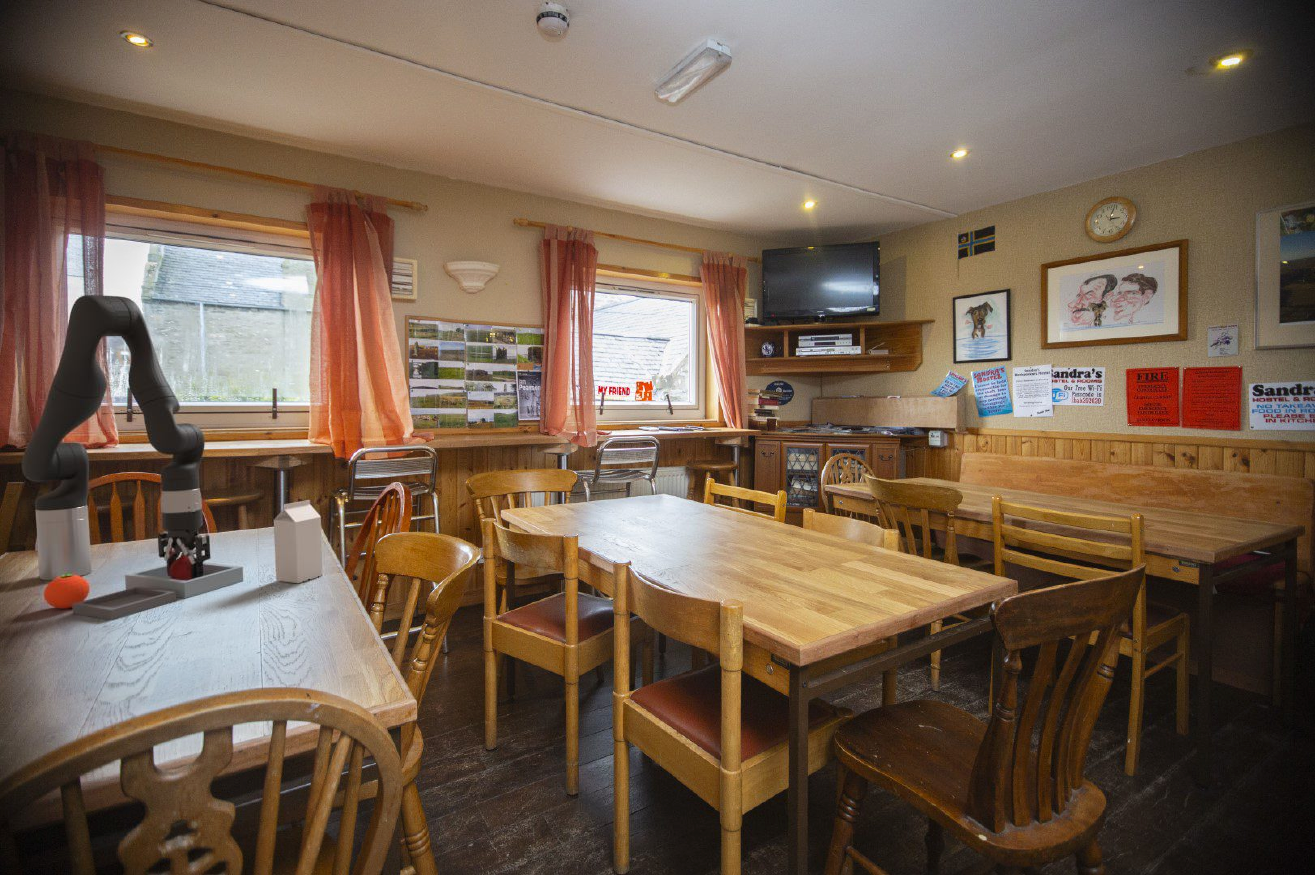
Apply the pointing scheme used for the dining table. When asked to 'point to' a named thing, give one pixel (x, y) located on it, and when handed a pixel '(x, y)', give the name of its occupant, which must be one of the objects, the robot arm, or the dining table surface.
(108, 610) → the tray
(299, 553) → the milk carton
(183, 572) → the onion
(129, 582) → the shallow gray box
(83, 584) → the clementine
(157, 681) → the dining table surface
